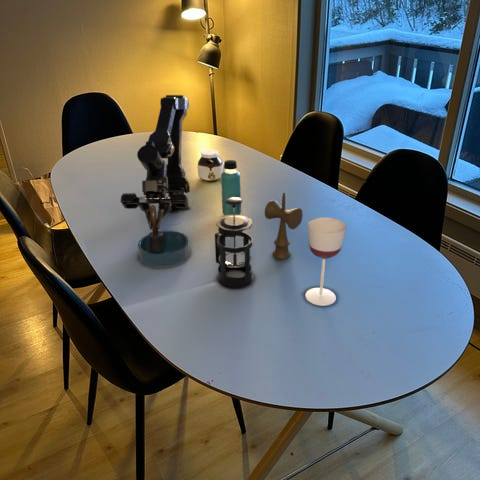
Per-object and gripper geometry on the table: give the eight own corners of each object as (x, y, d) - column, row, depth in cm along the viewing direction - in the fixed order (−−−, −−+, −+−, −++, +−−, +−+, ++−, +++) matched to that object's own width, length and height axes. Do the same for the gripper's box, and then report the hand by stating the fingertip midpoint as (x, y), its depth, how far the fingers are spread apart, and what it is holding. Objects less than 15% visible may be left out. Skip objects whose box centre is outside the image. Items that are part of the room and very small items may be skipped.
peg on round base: (148, 247, 131) (143, 203, 125) (161, 244, 133) (157, 201, 126) (152, 253, 128) (147, 209, 122) (165, 250, 130) (161, 206, 123)
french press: (262, 279, 118) (263, 199, 108) (238, 294, 112) (237, 212, 102) (230, 263, 125) (228, 187, 115) (205, 277, 119) (201, 198, 109)
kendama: (288, 266, 124) (291, 200, 115) (262, 254, 130) (263, 191, 121) (301, 258, 128) (305, 194, 118) (275, 247, 133) (277, 184, 124)
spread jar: (196, 182, 181) (195, 154, 176) (203, 172, 191) (202, 146, 186) (225, 183, 179) (224, 156, 174) (230, 174, 189) (230, 147, 184)
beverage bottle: (239, 222, 149) (238, 165, 139) (219, 220, 150) (218, 163, 141) (243, 213, 154) (242, 158, 145) (224, 212, 155) (222, 157, 146)
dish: (131, 252, 131) (129, 239, 130) (174, 238, 139) (173, 226, 137) (152, 273, 121) (151, 260, 119) (198, 257, 128) (197, 244, 127)
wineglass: (300, 288, 115) (304, 218, 105) (333, 286, 115) (340, 216, 106) (306, 307, 107) (312, 234, 98) (342, 305, 108) (350, 232, 99)
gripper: (117, 166, 123) (113, 220, 118) (185, 165, 123) (183, 219, 118) (126, 182, 134) (123, 232, 129) (189, 182, 134) (188, 231, 129)
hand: (154, 228), depth 126 cm, fingers closed on peg on round base, 2 cm apart
